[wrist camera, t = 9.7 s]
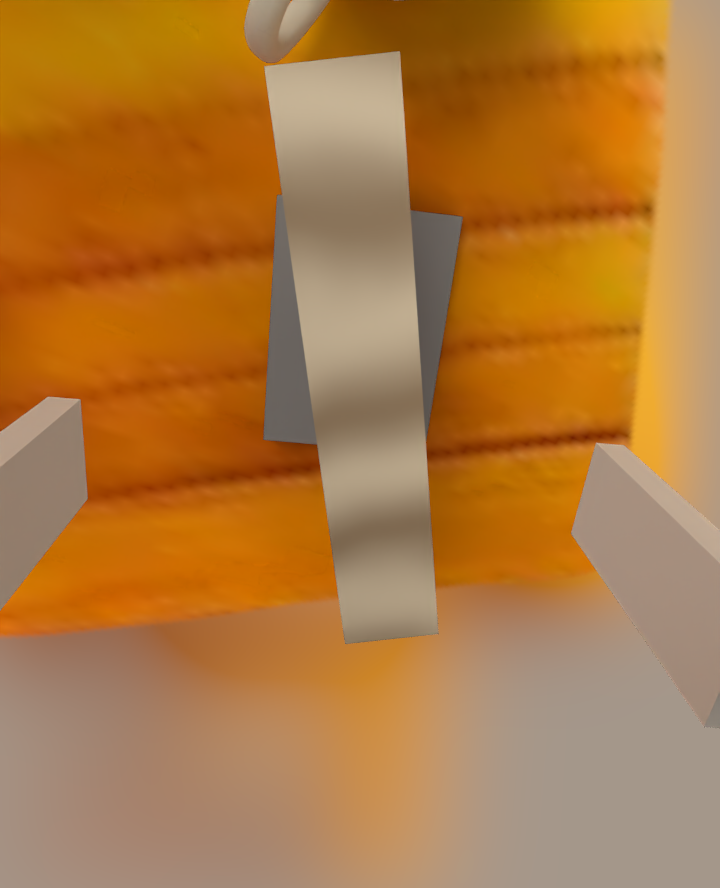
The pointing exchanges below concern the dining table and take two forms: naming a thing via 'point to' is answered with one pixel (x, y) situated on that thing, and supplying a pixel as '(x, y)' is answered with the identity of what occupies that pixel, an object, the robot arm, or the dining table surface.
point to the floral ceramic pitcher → (279, 25)
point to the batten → (360, 330)
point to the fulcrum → (286, 352)
